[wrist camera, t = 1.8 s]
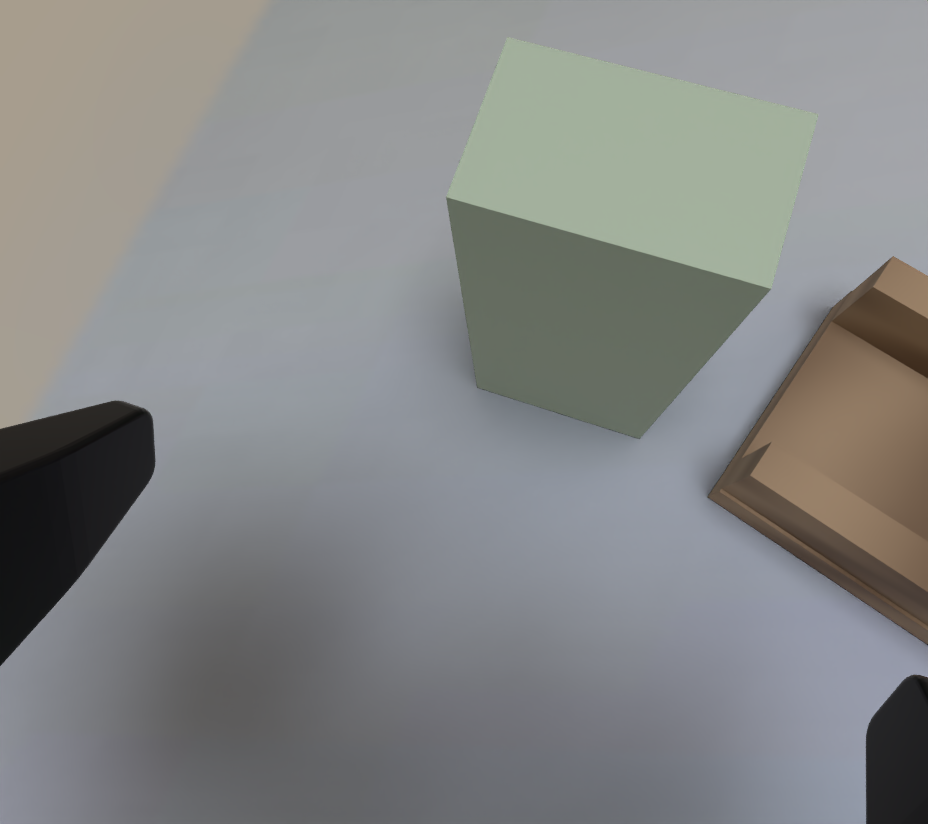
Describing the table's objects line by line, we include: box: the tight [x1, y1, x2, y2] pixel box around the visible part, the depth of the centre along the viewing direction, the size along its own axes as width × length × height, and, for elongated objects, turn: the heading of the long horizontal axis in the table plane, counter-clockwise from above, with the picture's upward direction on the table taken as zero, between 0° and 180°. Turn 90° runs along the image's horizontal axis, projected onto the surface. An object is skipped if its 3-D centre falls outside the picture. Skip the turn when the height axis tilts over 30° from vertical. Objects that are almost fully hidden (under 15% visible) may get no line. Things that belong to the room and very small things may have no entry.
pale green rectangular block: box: [446, 37, 818, 439], centre depth 16 cm, size 3×5×11 cm, turn 71°
